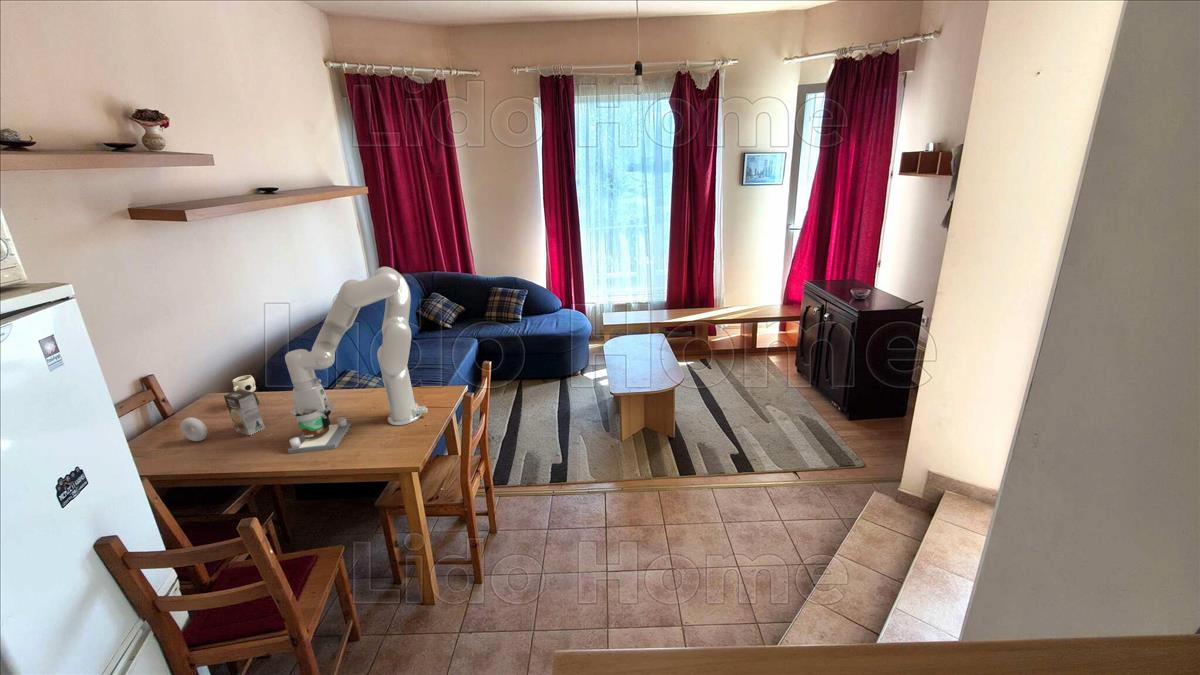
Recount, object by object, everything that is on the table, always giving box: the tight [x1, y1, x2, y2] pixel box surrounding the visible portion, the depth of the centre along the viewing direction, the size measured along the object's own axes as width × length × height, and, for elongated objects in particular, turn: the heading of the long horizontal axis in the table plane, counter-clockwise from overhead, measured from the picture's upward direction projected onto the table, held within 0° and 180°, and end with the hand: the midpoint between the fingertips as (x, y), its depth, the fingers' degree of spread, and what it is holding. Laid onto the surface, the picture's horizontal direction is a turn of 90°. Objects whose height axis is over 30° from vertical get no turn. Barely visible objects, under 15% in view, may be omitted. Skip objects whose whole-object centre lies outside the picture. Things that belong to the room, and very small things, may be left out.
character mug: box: [232, 374, 260, 404], centre depth 213 cm, size 11×7×13 cm, turn 175°
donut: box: [180, 416, 208, 442], centre depth 187 cm, size 10×4×10 cm, turn 79°
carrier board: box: [287, 416, 352, 455], centre depth 184 cm, size 16×16×4 cm
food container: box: [295, 406, 329, 439], centre depth 182 cm, size 12×6×10 cm, turn 170°
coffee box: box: [223, 389, 266, 436], centre depth 192 cm, size 9×6×16 cm
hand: (318, 427), depth 183 cm, fingers closed on food container, 5 cm apart
